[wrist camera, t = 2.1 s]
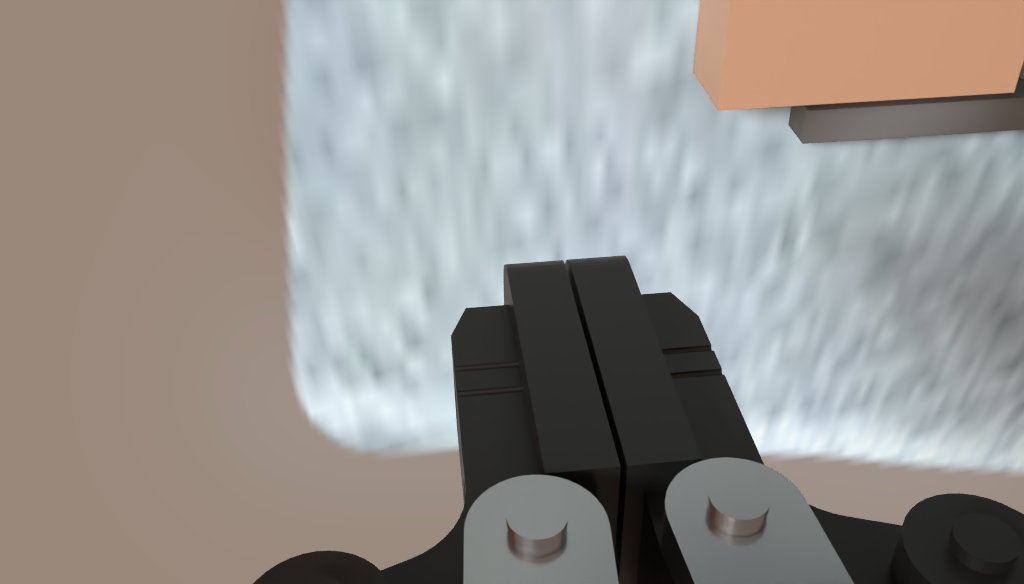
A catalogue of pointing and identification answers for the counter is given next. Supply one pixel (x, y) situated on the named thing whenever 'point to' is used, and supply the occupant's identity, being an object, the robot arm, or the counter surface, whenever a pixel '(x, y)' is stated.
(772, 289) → the counter surface
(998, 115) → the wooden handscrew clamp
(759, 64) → the light orange flat block
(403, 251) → the counter surface
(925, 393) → the counter surface
